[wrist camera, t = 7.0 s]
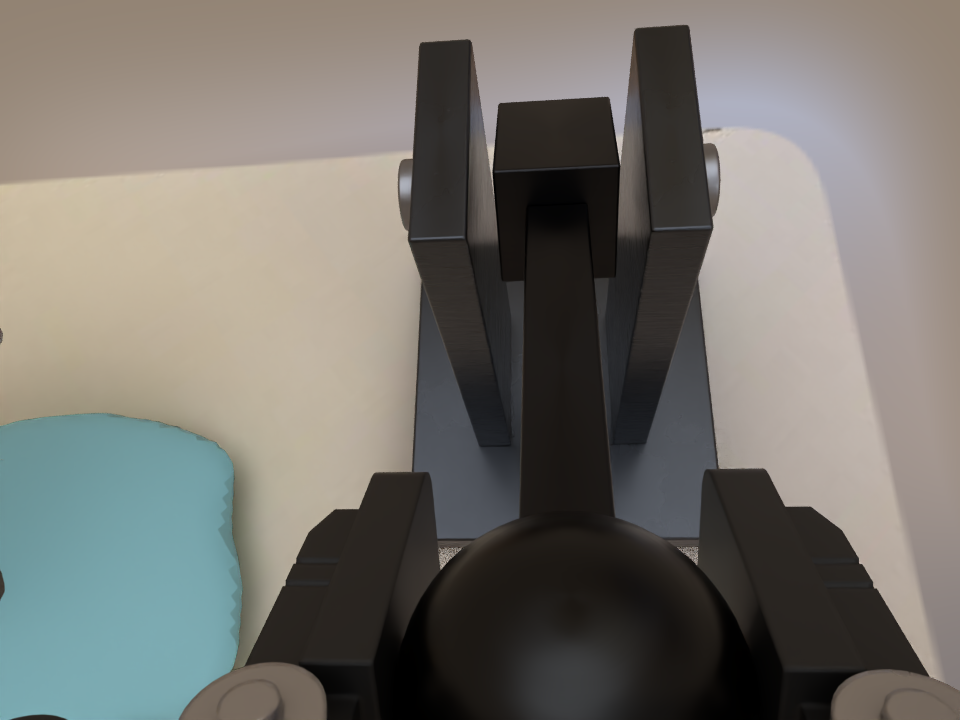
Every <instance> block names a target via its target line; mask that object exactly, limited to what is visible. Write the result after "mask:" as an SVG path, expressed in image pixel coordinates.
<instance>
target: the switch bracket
mask: <svg viewBox="0 0 960 720" xmlns="http://www.w3.org/2000/svg"><path fill="white" fill-rule="evenodd" d="M416 95H417V97H416V112H415V128H414V145H413V159H404V160H402V161H401V163H400V166H399V172H398V199H399V208H400V214H401V219H402V222H403V225H404V228H405V229H406V230H407V231H408V242H409V245H410V248H411V251H412V254H413V257H414V259H415V262H416V265H417V268H418V271H419V274H420V277H421V300H420V320H419V340H418V360H417V380H416V400H415V420H414V440H413V460H412V472H429V474H430V477H431V481H432V488H433V498H434V509H435V519H436V530H437V541H438V548H448V547H465V546H467V545H468V544H470V543H471V542H472V541H474V540H475V539H477V538H478V537H480V536H482V535H484V534H485V533H487V532H489V531H491V530H493V529H495V528H496V527H498V526H501V525H503V524H506V523H508V522H511V521H513V520H516V519H519V497H520V452H521V407H522V361H523V316H524V281H512V282H503V281H502V279H501V270H500V258H499V245H498V233H497V221H496V209H495V200H494V194H493V187H492V180H491V173H490V166H489V159H488V152H487V145H486V138H485V131H484V124H483V117H482V110H481V103H480V96H479V89H478V82H477V75H476V69H475V61H474V55H473V47H472V42H471V41H470V40H468V39H466V40H452V41H437V42H422V43H421V44H420V46H419V61H418V78H417V94H416ZM719 194H720V163H719V156H718V151H717V149H716V146H715V145H714V144H711V143H708V144H703V137H702V128H701V120H700V112H699V103H698V96H697V87H696V79H695V70H694V62H693V54H692V45H691V37H690V29H689V26H688V25H676V26H661V27H647V28H637V29H636V30H635V31H634V38H633V47H632V57H631V68H630V77H629V87H628V97H627V107H626V116H625V127H624V136H623V146H622V156H621V166H620V188H619V215H618V242H617V269H616V276H615V277H614V278H595V279H594V281H595V292H596V303H597V314H598V326H599V337H600V348H601V360H602V371H603V382H604V393H605V405H606V416H607V427H608V439H609V450H610V461H611V473H612V484H613V495H614V506H615V518H619V519H622V520H625V521H627V522H630V523H633V524H635V525H638V526H640V527H642V528H644V529H646V530H648V531H650V532H652V533H654V534H656V535H658V536H660V537H661V538H663V539H664V540H666V541H667V542H669V543H670V544H672V545H673V546H675V547H699V530H700V511H701V492H702V480H703V475H704V472H705V470H706V469H719V467H718V458H717V449H716V440H715V430H714V421H713V412H712V403H711V393H710V384H709V375H708V366H707V356H706V347H705V338H704V329H703V319H702V310H701V301H700V292H699V282H698V275H699V272H700V269H701V266H702V263H703V259H704V256H705V253H706V250H707V247H708V243H709V240H710V237H711V234H712V231H713V220H712V217H713V216H714V215H715V213H716V210H717V207H718V202H719Z"/></svg>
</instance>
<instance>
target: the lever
mask: <svg viewBox="0 0 960 720" xmlns="http://www.w3.org/2000/svg"><path fill="white" fill-rule="evenodd" d="M492 173H493V185H494V197H495V209H496V221H497V233H498V245H499V258H500V270H501V279H502V281H503V282H512V281H524V316H523V361H522V407H521V452H520V497H519V519H516V520H513V521H511V522H508V523H506V524H503V525H501V526H498V527H496V528H495V529H493V530H491V531H489V532H487V533H485V534H484V535H482V536H480V537H478V538H477V539H475V540H474V541H472V542H471V543H470V544H468V545H467V546H465V547H464V548H463V549H462V550H460V551H459V552H458V553H457V554H456V555H455V556H454V557H453V558H452V559H450V560H449V561H448V563H447V564H446V565H445V566H444V567H443V568H442V570H441V571H440V572H439V573H438V574H437V575H436V577H435V578H434V579H433V580H432V582H431V583H430V584H429V586H428V587H427V589H426V590H425V592H424V593H423V595H422V596H421V598H420V600H419V602H418V604H417V606H416V608H415V610H414V612H413V614H412V616H411V618H410V621H409V623H408V626H407V629H406V632H405V635H404V638H403V640H402V643H401V646H400V651H399V656H398V661H397V665H396V674H395V688H394V718H395V720H761V706H760V698H759V690H758V683H757V676H756V671H755V667H754V663H753V660H752V656H751V653H750V649H749V647H748V645H747V642H746V640H745V638H744V635H743V633H742V631H741V628H740V626H739V624H738V621H737V619H736V617H735V615H734V614H733V612H732V610H731V608H730V607H729V605H728V603H727V602H726V600H725V598H724V597H723V596H722V594H721V593H720V592H719V591H718V589H717V588H716V587H715V585H714V584H713V583H712V581H711V580H710V579H709V578H708V577H707V575H706V574H705V573H704V572H703V571H702V570H701V569H700V568H699V567H698V566H697V565H696V564H695V563H694V562H693V561H692V560H691V559H690V558H689V557H687V556H686V555H685V554H684V553H682V552H681V551H680V550H679V549H678V548H676V547H675V546H673V545H672V544H670V543H669V542H667V541H666V540H664V539H663V538H661V537H660V536H658V535H656V534H654V533H652V532H650V531H648V530H646V529H644V528H642V527H640V526H638V525H635V524H633V523H630V522H627V521H625V520H622V519H619V518H615V506H614V495H613V484H612V473H611V461H610V450H609V439H608V427H607V416H606V405H605V393H604V382H603V371H602V360H601V348H600V337H599V326H598V314H597V303H596V292H595V281H594V279H595V278H614V277H615V276H616V269H617V242H618V215H619V188H620V161H619V155H618V149H617V142H616V136H615V130H614V123H613V117H612V110H611V104H610V99H609V97H597V98H580V99H562V100H546V101H528V102H511V103H500V104H499V105H498V115H497V127H496V138H495V149H494V161H493V172H492Z"/></svg>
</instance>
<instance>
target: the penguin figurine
mask: <svg viewBox="0 0 960 720" xmlns="http://www.w3.org/2000/svg"><path fill="white" fill-rule="evenodd" d="M2 337H3V333H2V331H1V329H0V343H1V342H2ZM233 483H234V470H233V463H232V461H231V459H230V458H229V456H228V455H227V453H226V452H225V451H224V450H223V449H222V448H220V447H219V445H218V444H217V443H216V442H213V441H210V440H208V439H206V438H205V437H202V436H200V435H197V434H194V433H192V432H190V431H187V430H183V429H181V428H179V427H178V426H170V425H167V424H164V423H161V422H157V421H150V420H147V419H137V418H129V417H125V416H121V415H116V414H108V413H92V414H75V415H62V416H51V417H42V418H35V419H28V420H22V421H17V422H13V423H10V424H6V425H3V426H0V720H10V719H14V718H17V717H22V716H28V715H40V714H46V715H55V716H59V717H62V718H65V719H67V720H179V717H180V716H181V714H182V712H183V710H184V709H185V707H186V706H187V705H188V704H189V702H190V701H191V700H192V699H193V698H194V697H195V696H196V695H197V694H198V693H199V692H200V691H201V690H202V689H203V688H205V687H206V686H207V685H209V684H210V683H211V682H213V681H215V680H216V679H218V678H220V677H221V676H223V675H225V674H227V673H229V672H230V671H231V670H232V668H233V666H234V663H235V659H236V655H237V650H238V645H239V629H240V625H241V620H240V613H241V609H242V601H241V596H242V591H243V587H242V580H241V575H240V566H239V560H238V555H237V551H236V547H235V544H234V540H233V535H232V529H233V524H232V519H231V517H232V513H233V505H232V500H233V496H234V491H233Z"/></svg>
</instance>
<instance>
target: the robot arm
mask: <svg viewBox="0 0 960 720" xmlns="http://www.w3.org/2000/svg"><path fill="white" fill-rule="evenodd" d="M698 567H699V568H700V569H701V570H702V571H703V572H704V573H705V574H706V575H707V577H708V578H709V579H710V580H711V581H712V583H713V584H714V585H715V587H716V588H717V589H718V591H719V592H720V593H721V594H722V596H723V597H724V598H725V600H726V602H727V603H728V605H729V607H730V608H731V610H732V612H733V614H734V615H735V617H736V619H737V621H738V624H739V626H740V628H741V631H742V633H743V635H744V638H745V640H746V642H747V645H748V647H749V649H750V653H751V656H752V660H753V663H754V667H755V671H756V676H757V683H758V690H759V698H760V706H761V720H960V691H959V690H957V689H955V688H953V687H951V686H949V685H947V684H945V683H943V682H940V681H938V680H936V679H933V678H930V677H929V675H928V673H927V672H926V670H925V668H924V667H923V665H922V663H921V662H920V660H919V658H918V657H917V655H916V653H915V652H914V650H913V648H912V647H911V645H910V643H909V642H908V640H907V638H906V637H905V635H904V633H903V632H902V630H901V628H900V627H899V625H898V623H897V622H896V620H895V618H894V616H893V615H892V613H891V611H890V610H889V608H888V606H887V605H886V603H885V601H884V600H883V598H882V596H881V595H880V593H879V591H878V590H877V589H874V587H873V581H872V580H871V578H870V576H869V575H868V573H867V571H866V570H865V568H864V566H863V565H862V564H859V558H858V556H857V555H856V553H855V551H854V550H853V548H852V546H851V545H850V543H849V541H848V540H847V538H846V536H845V535H844V533H843V531H842V530H841V529H839V528H838V527H837V526H835V525H834V524H833V523H831V522H830V521H829V520H828V519H826V518H825V517H824V516H822V515H821V514H820V513H818V512H817V511H816V510H814V509H813V508H812V507H785V506H784V504H783V502H782V500H781V498H780V496H779V494H778V492H777V490H776V488H775V486H774V484H773V482H772V480H771V478H770V476H769V474H768V473H767V471H766V470H765V469H706V470H705V472H704V475H703V480H702V492H701V511H700V530H699V548H698ZM439 572H440V562H439V551H438V541H437V530H436V519H435V509H434V498H433V488H432V481H431V477H430V474H429V472H379V473H374V474H373V476H372V478H371V480H370V483H369V485H368V488H367V490H366V493H365V495H364V498H363V500H362V503H361V505H360V508H359V509H335V510H334V511H333V512H332V513H330V514H329V515H328V516H327V517H326V518H325V519H323V520H322V521H321V522H320V523H319V524H318V525H317V526H315V527H314V528H313V529H312V530H311V531H310V532H309V533H308V535H307V537H306V539H305V541H304V544H303V546H302V548H301V550H300V552H299V554H298V556H297V558H296V564H293V566H292V568H291V571H290V573H289V575H288V577H287V579H286V586H283V587H282V589H281V591H280V593H279V596H278V598H277V600H276V602H275V604H274V606H273V608H272V610H271V612H270V614H269V616H268V618H267V620H266V623H265V625H264V627H263V629H262V631H261V633H260V635H259V637H258V639H257V641H256V643H255V645H254V647H253V650H252V652H251V654H250V656H249V658H248V660H247V662H246V664H245V666H244V667H242V668H239V669H236V670H234V671H232V672H229V673H227V674H225V675H223V676H221V677H220V678H218V679H216V680H215V681H213V682H211V683H210V684H209V685H207V686H206V687H205V688H203V689H202V690H201V691H200V692H199V693H198V694H197V695H196V696H195V697H194V698H193V699H192V700H191V701H190V702H189V704H188V705H187V706H186V707H185V709H184V710H183V712H182V714H181V716H180V717H179V720H395V718H394V688H395V674H396V665H397V661H398V656H399V651H400V646H401V643H402V640H403V638H404V635H405V632H406V629H407V626H408V623H409V621H410V618H411V616H412V614H413V612H414V610H415V608H416V606H417V604H418V602H419V600H420V598H421V596H422V595H423V593H424V592H425V590H426V589H427V587H428V586H429V584H430V583H431V582H432V580H433V579H434V578H435V577H436V575H437V574H438V573H439ZM10 720H67V719H65V718H62V717H59V716H55V715H46V714H40V715H28V716H22V717H17V718H14V719H10Z"/></svg>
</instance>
